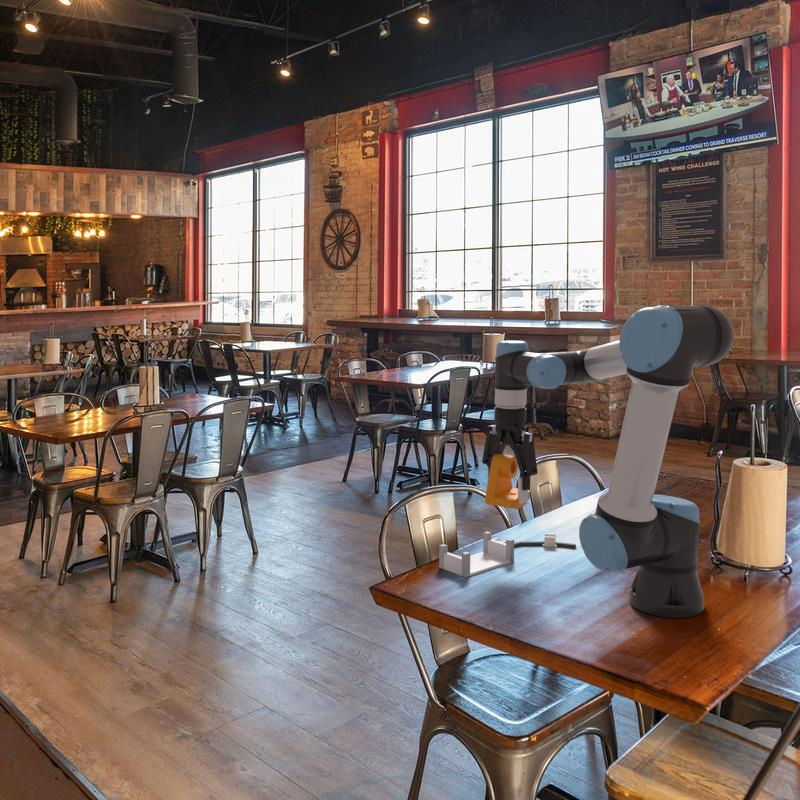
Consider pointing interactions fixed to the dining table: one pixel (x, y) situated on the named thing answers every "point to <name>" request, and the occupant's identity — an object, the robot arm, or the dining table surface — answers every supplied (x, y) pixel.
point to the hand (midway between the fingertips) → (508, 498)
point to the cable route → (543, 542)
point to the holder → (478, 557)
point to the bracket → (503, 482)
